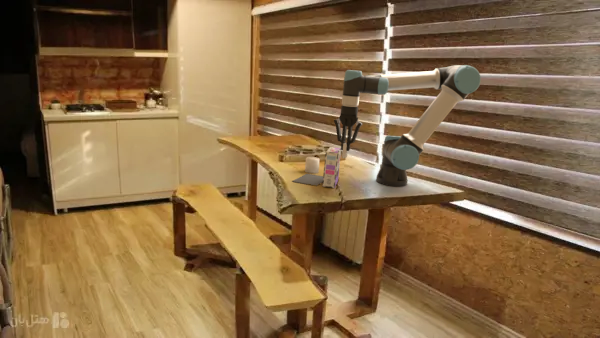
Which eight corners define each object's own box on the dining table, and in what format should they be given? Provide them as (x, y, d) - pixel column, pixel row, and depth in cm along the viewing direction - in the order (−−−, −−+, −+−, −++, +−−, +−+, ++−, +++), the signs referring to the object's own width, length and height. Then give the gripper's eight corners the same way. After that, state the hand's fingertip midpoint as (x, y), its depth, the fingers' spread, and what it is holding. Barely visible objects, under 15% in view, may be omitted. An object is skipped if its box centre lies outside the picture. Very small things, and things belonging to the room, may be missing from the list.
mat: (329, 178, 227) (329, 177, 226) (316, 186, 210) (316, 185, 210) (306, 174, 231) (306, 173, 231) (292, 181, 215) (292, 181, 214)
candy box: (334, 188, 209) (338, 152, 205) (321, 186, 210) (325, 151, 206) (338, 181, 222) (341, 147, 218) (326, 179, 223) (329, 146, 219)
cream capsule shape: (320, 171, 239) (321, 158, 237) (315, 174, 233) (316, 160, 231) (307, 169, 242) (309, 156, 240) (302, 171, 235) (303, 158, 234)
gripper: (366, 106, 207) (360, 158, 212) (338, 103, 211) (333, 154, 217) (361, 107, 200) (355, 161, 205) (333, 104, 204) (328, 156, 210)
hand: (344, 157), depth 211 cm, fingers closed
